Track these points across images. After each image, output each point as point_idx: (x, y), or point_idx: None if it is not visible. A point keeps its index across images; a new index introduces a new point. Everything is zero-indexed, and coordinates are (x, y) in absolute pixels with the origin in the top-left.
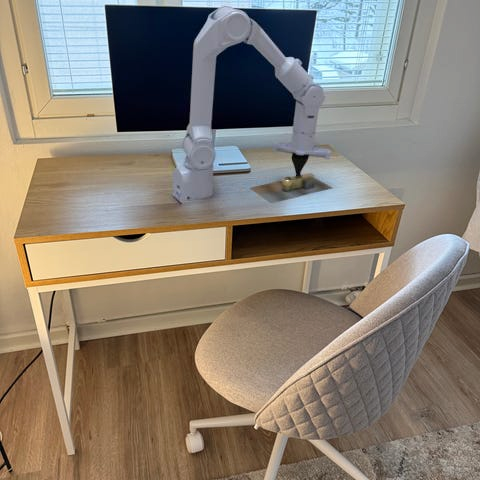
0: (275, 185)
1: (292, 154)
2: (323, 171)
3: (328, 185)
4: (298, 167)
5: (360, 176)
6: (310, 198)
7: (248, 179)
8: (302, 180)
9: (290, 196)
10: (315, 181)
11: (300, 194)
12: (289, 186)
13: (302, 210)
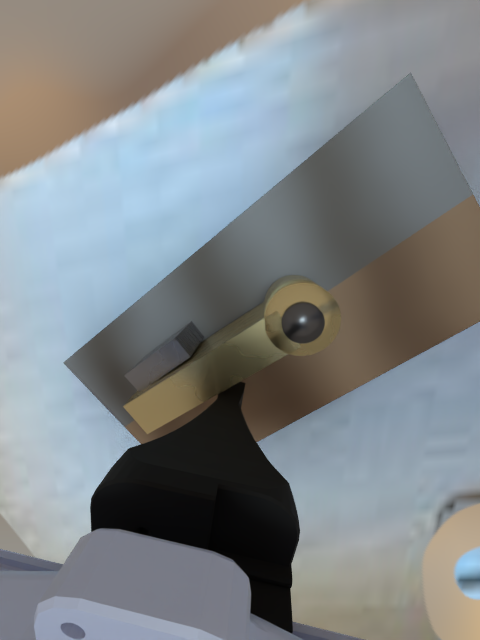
0: (351, 352)
1: (288, 598)
2: None
3: (86, 386)
4: (219, 429)
5: (3, 499)
6: None
7: (465, 441)
8: (199, 353)
9: (273, 215)
10: None
11: (215, 256)
12: (282, 282)
13: (206, 114)
